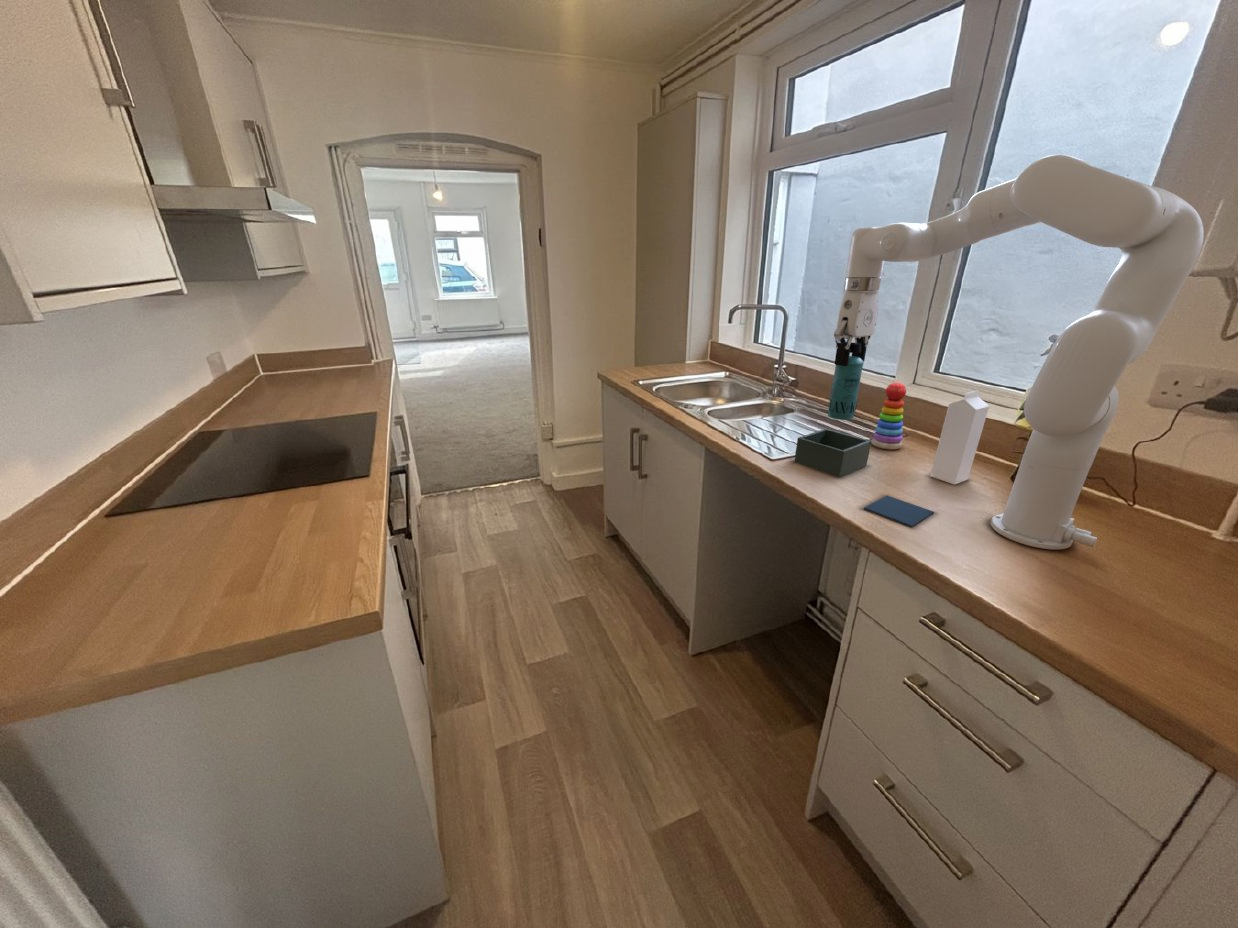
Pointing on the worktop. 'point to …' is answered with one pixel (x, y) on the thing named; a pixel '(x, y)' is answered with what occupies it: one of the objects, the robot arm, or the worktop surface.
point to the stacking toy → (891, 419)
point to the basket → (832, 452)
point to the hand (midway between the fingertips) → (849, 363)
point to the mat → (899, 511)
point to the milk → (959, 439)
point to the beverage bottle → (846, 387)
